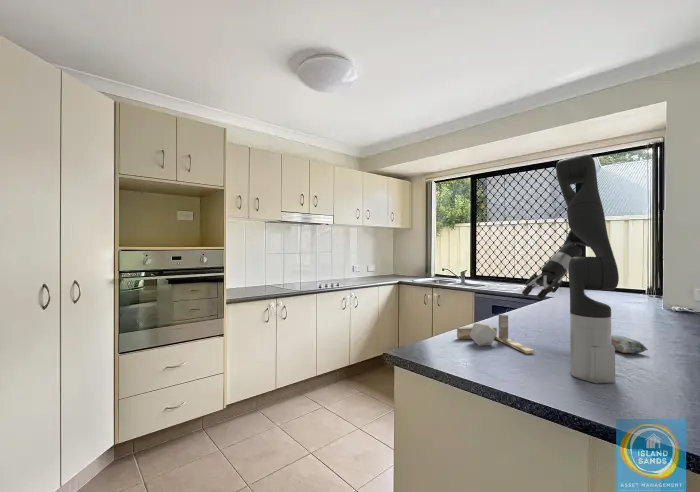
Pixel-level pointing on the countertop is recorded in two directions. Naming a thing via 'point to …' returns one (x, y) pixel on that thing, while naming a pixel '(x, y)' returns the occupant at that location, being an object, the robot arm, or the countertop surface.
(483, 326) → the die
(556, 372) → the countertop surface
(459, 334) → the l-shaped corner bracket
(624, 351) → the packaged food
